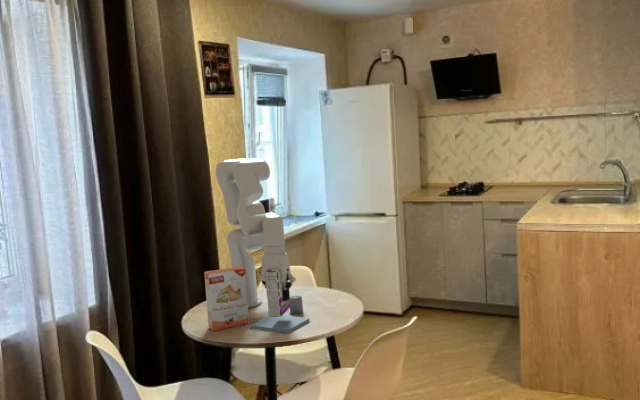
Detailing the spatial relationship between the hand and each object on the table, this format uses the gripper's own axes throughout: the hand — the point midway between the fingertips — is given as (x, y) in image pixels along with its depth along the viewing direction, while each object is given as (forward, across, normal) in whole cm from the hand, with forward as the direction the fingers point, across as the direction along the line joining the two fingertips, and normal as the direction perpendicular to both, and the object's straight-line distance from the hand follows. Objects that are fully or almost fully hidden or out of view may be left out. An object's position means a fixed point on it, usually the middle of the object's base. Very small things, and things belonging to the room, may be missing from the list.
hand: (278, 298), depth 204 cm
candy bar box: (+5, 0, 0) cm, 5 cm away
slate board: (+10, 0, 0) cm, 10 cm away
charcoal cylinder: (+10, -3, +15) cm, 18 cm away
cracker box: (+10, -18, -7) cm, 22 cm away
